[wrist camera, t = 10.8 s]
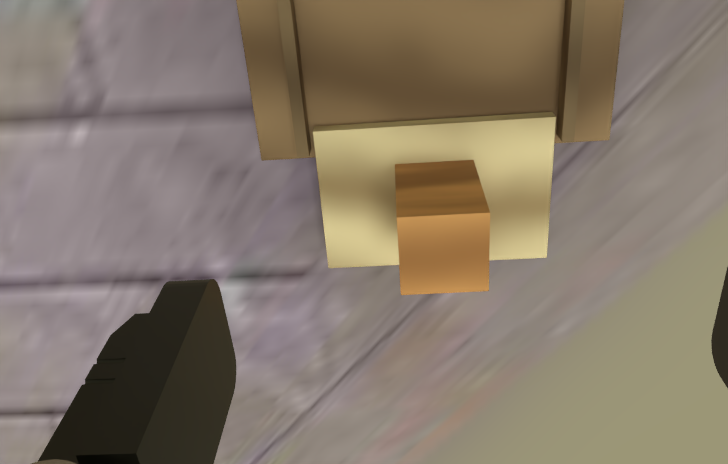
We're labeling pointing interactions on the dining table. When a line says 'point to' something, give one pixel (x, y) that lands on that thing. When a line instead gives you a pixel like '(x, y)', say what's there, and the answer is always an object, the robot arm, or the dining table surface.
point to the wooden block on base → (436, 196)
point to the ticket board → (427, 64)
